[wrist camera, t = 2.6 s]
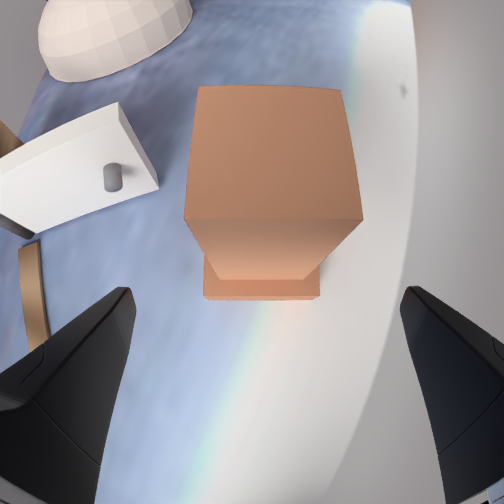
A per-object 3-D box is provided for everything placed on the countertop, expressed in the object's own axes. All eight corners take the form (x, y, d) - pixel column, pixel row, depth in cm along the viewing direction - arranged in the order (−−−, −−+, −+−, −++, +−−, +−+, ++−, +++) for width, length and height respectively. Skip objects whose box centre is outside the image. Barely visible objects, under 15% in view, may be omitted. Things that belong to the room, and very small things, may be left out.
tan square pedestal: (311, 299, 21) (397, 254, 8) (208, 299, 21) (145, 254, 8) (307, 204, 22) (360, 75, 10) (211, 203, 22) (175, 71, 10)
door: (37, 249, 21) (-33, 214, 13) (36, 217, 22) (-27, 175, 13) (162, 206, 22) (119, 141, 13) (156, 172, 22) (118, 101, 14)
